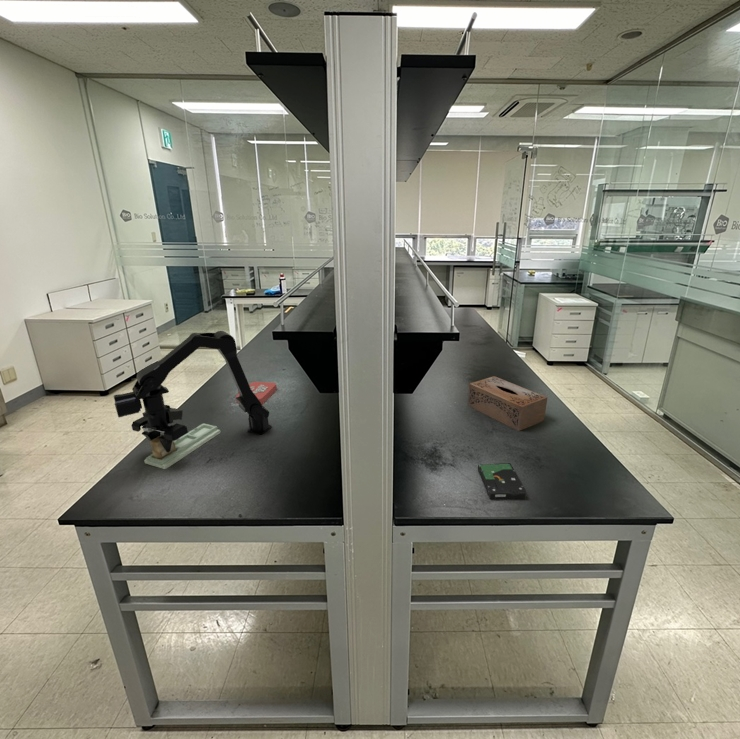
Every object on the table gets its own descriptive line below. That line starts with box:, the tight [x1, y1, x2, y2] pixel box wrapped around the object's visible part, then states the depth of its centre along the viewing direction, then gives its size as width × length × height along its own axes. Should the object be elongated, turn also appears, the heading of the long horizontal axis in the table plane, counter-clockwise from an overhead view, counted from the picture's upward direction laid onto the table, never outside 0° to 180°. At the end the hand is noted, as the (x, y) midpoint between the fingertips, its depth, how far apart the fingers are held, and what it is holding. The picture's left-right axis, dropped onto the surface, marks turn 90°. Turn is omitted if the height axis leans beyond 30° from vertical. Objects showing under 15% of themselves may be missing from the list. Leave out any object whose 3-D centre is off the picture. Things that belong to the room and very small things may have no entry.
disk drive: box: [477, 462, 527, 501], centre depth 123 cm, size 10×3×15 cm
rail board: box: [143, 423, 221, 470], centre depth 145 cm, size 9×25×3 cm, turn 156°
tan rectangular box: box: [149, 433, 176, 459], centre depth 136 cm, size 3×6×6 cm, turn 156°
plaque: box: [235, 381, 278, 405], centre depth 184 cm, size 18×4×15 cm
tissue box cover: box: [467, 375, 548, 432], centre depth 164 cm, size 26×14×10 cm, turn 32°
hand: (164, 450), depth 137 cm, fingers closed on tan rectangular box, 3 cm apart
